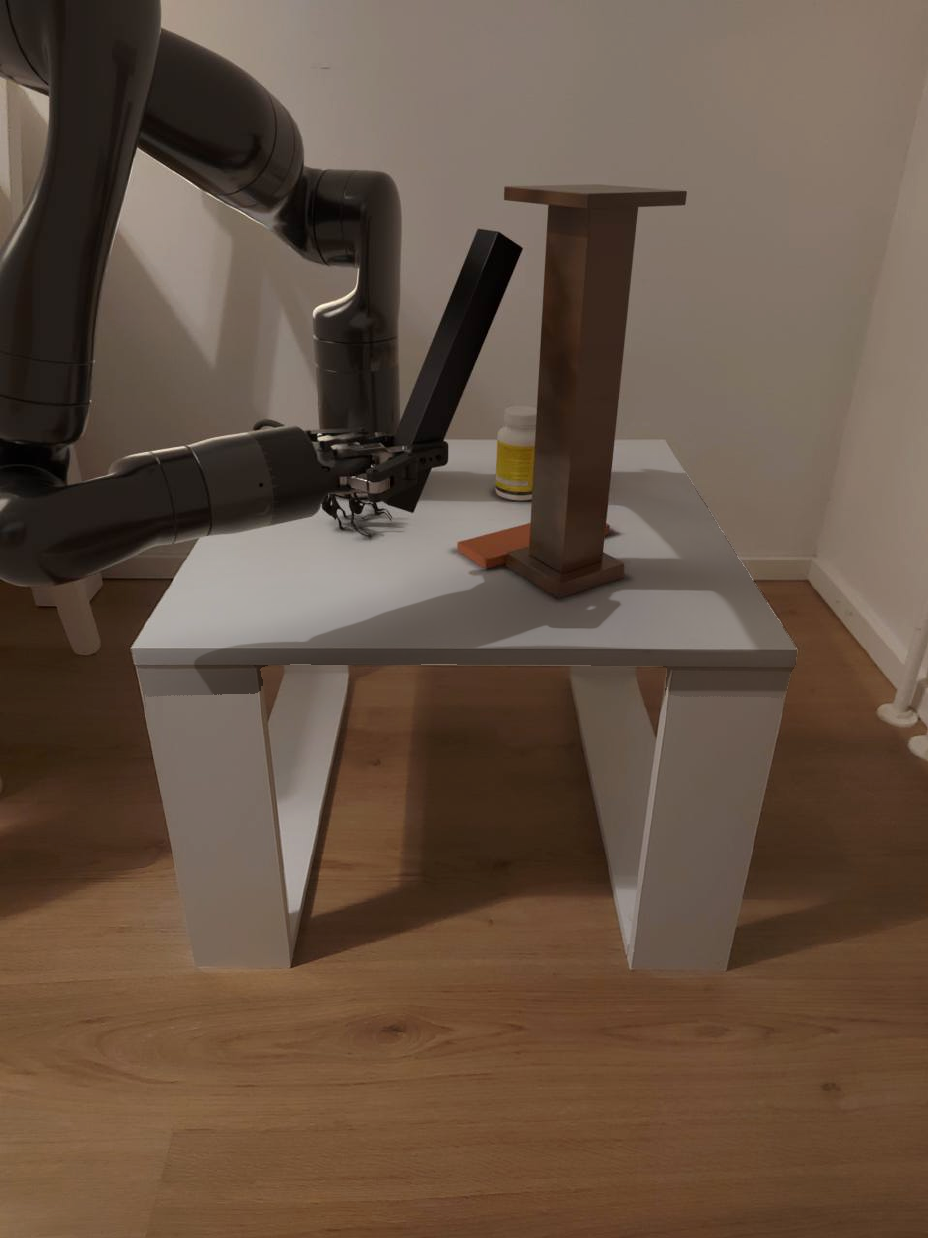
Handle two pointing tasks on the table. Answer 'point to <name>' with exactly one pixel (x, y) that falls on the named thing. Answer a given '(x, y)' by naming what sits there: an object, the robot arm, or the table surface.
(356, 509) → the creature
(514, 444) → the supplement bottle
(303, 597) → the table surface
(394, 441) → the handle bar
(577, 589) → the plant stand
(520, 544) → the wooden plank
